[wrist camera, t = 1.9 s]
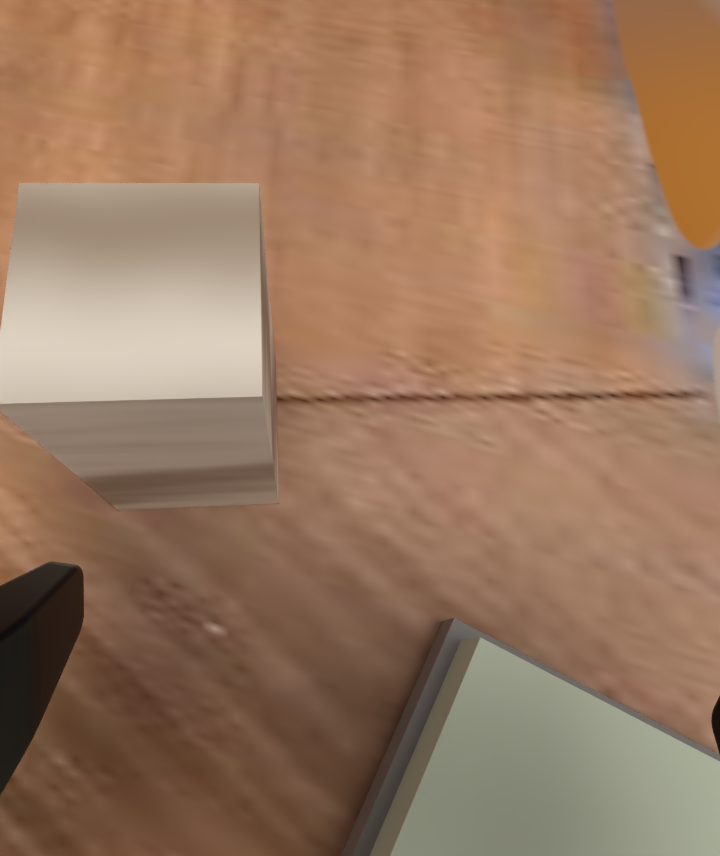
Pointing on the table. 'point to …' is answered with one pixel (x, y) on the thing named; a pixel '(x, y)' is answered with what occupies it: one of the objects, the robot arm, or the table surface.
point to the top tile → (545, 773)
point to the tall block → (144, 340)
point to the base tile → (415, 720)
